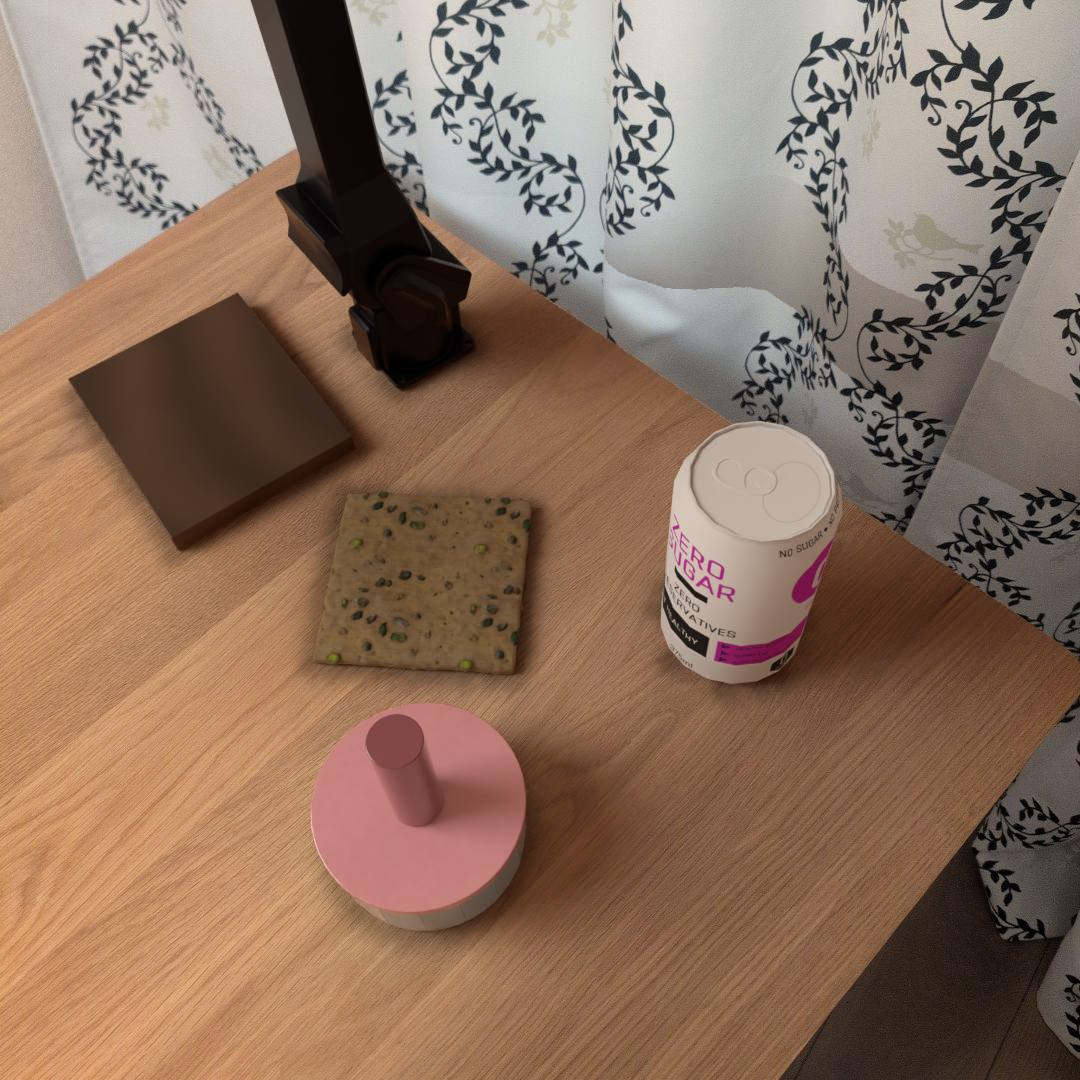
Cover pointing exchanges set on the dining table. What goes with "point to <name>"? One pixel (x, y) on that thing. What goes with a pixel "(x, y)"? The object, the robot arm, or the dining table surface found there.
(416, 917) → the bowl
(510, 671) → the cookie
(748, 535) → the supplement can
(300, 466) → the board
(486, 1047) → the dining table surface
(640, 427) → the dining table surface
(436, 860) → the lid
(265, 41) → the robot arm
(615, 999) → the dining table surface
